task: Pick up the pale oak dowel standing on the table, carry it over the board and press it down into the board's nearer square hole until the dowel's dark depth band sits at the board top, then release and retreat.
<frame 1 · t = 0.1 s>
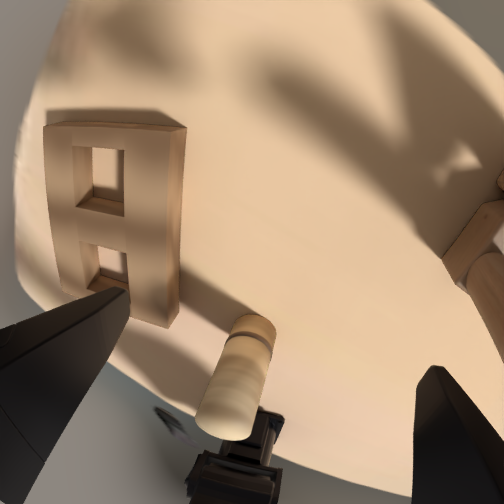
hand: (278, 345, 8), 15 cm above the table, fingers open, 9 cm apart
dowel: (254, 331, 27), on the table
board: (116, 217, 25), on the table
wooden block: (493, 214, 18), on the table
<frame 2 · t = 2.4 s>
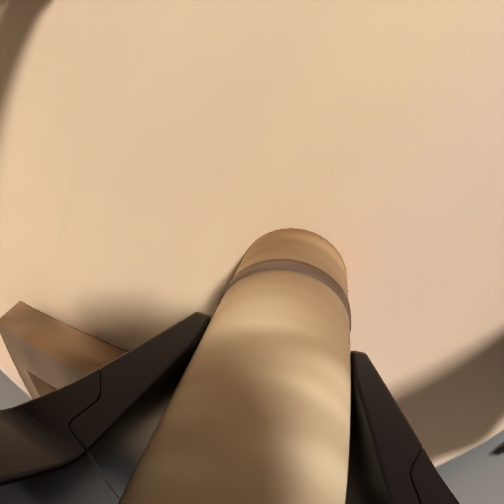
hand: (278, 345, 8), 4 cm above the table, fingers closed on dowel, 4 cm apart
dowel: (293, 278, 11), on the table, touching gripper
board: (128, 405, 19), on the table
when the fingers open (4 cm above the table, at t = 5.7 s): dowel stays where it is, resting in board.
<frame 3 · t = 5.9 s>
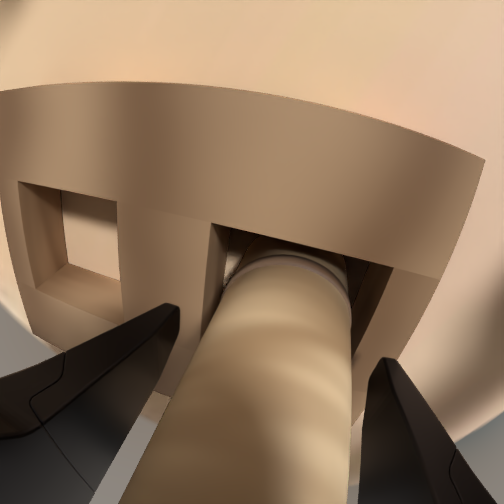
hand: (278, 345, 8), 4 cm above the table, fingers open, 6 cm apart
dowel: (294, 274, 12), resting in board
board: (188, 249, 12), on the table
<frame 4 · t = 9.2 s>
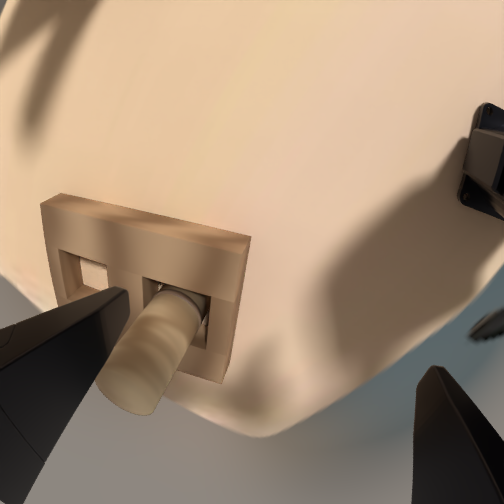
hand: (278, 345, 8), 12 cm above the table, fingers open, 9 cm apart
dowel: (188, 294, 24), resting in board
board: (141, 281, 24), on the table
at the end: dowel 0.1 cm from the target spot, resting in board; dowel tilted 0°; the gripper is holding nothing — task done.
